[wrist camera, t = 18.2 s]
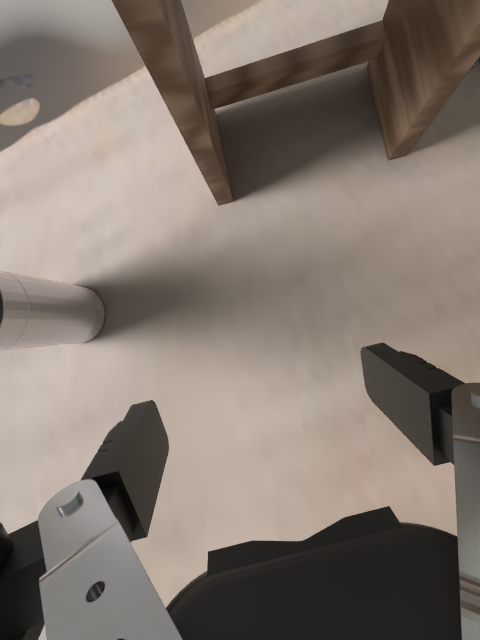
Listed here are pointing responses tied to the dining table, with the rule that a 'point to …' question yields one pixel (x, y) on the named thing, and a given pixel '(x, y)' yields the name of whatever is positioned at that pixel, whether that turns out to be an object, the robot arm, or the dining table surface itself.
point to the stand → (312, 71)
